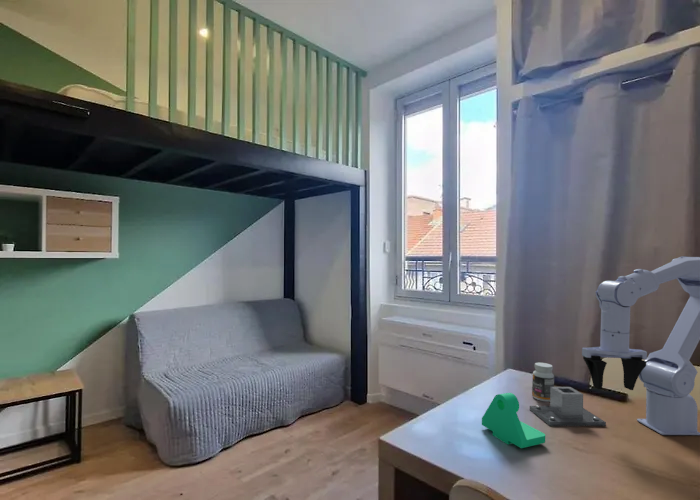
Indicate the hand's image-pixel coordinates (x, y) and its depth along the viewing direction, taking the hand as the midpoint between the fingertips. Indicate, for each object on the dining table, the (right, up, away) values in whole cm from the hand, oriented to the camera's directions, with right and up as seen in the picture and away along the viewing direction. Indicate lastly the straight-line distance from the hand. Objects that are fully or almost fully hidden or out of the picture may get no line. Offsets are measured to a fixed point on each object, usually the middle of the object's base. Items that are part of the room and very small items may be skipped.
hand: (613, 388), depth 92 cm
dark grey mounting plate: (-7, -10, +8) cm, 15 cm away
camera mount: (-25, -10, -3) cm, 28 cm away
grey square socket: (-7, -9, +8) cm, 14 cm away
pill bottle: (-6, -11, +21) cm, 24 cm away
